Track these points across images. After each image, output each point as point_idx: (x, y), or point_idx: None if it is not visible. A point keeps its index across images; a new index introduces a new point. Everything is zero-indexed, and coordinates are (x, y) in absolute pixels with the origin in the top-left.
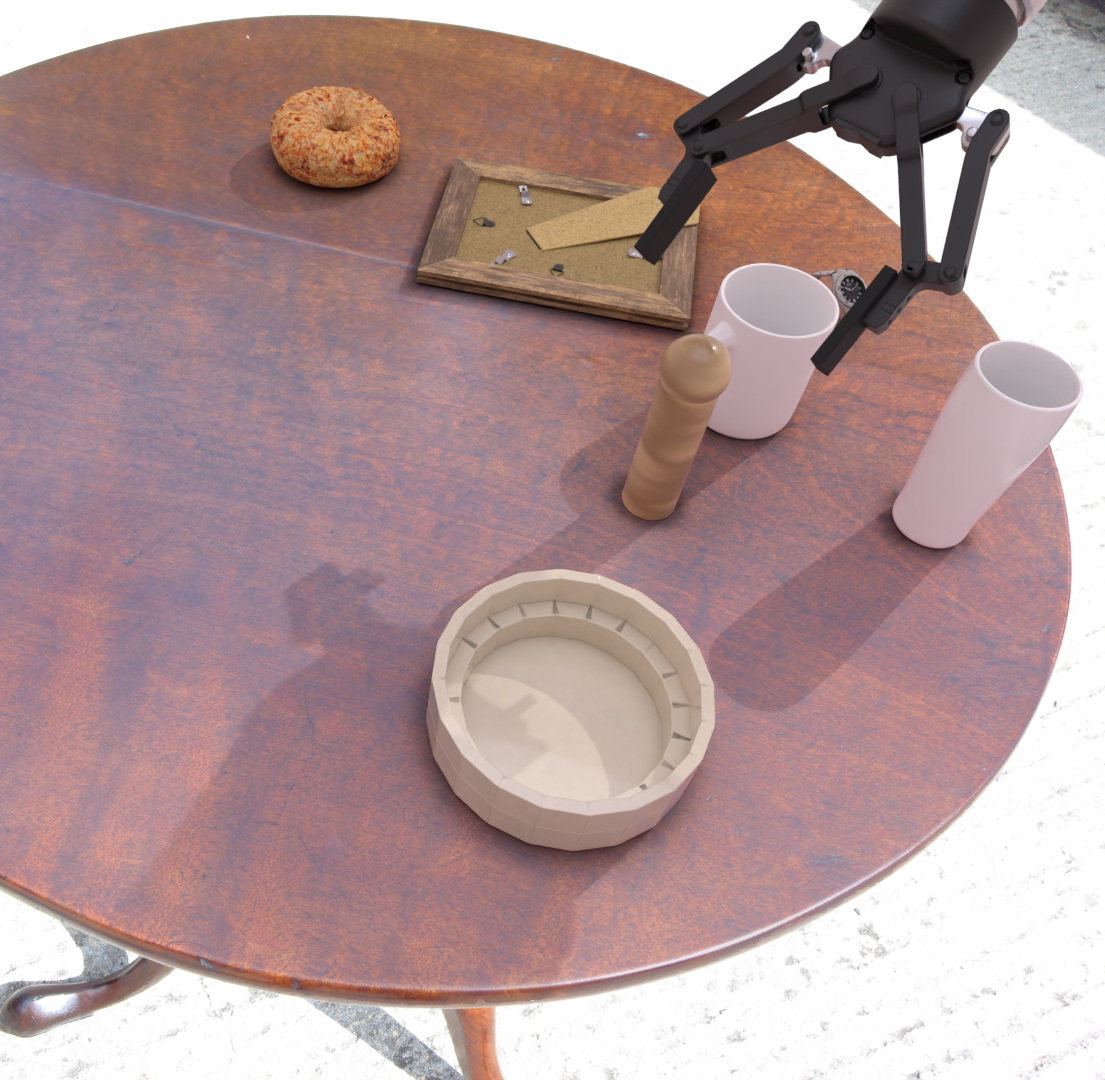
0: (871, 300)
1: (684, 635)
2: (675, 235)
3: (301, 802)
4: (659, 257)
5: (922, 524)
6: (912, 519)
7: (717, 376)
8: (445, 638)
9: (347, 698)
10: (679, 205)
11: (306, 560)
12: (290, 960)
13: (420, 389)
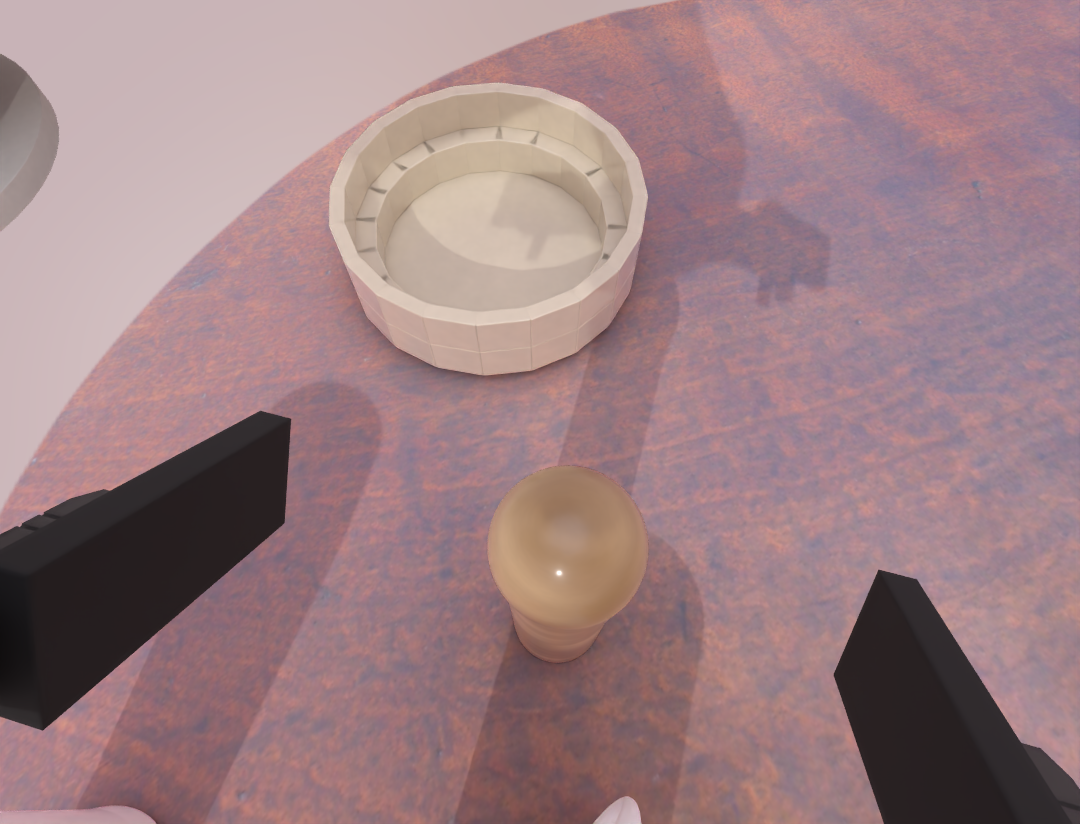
0: (105, 499)
1: (398, 299)
2: (865, 752)
3: (647, 103)
4: (842, 687)
5: (105, 809)
6: (125, 816)
7: (508, 496)
8: (634, 165)
9: (685, 184)
10: (940, 715)
11: (844, 277)
12: (572, 31)
13: (990, 614)
